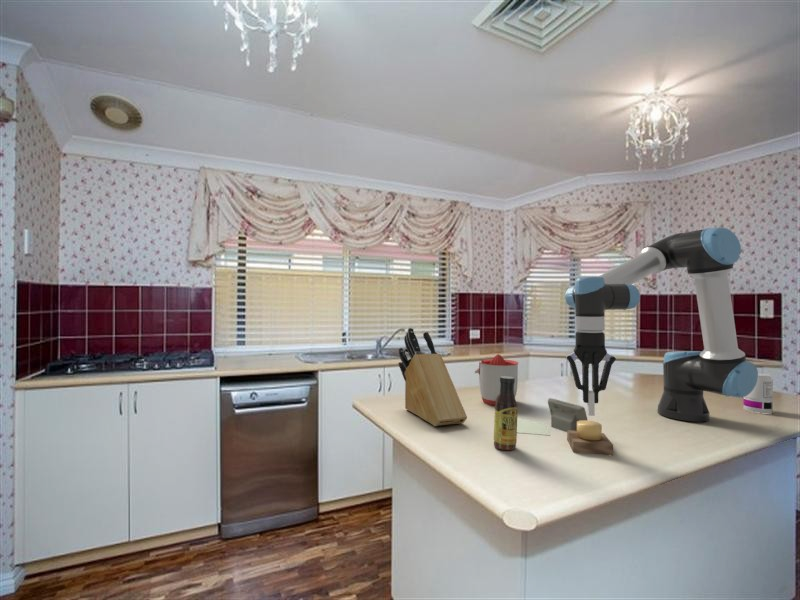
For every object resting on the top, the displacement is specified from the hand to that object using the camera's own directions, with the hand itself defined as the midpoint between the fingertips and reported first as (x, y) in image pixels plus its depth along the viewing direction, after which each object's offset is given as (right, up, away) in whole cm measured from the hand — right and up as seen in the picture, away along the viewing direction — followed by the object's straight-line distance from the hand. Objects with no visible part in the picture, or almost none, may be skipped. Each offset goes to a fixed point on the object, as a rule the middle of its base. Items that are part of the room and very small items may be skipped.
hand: (590, 414), depth 114 cm
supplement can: (+79, -11, +36) cm, 88 cm away
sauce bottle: (-24, -10, -1) cm, 26 cm away
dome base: (-1, -10, 0) cm, 9 cm away
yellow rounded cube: (-1, -6, 0) cm, 6 cm away
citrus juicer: (-15, -10, +49) cm, 52 cm away
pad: (-12, -9, +19) cm, 25 cm away
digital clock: (0, -10, +16) cm, 19 cm away
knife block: (-44, -9, +32) cm, 55 cm away
